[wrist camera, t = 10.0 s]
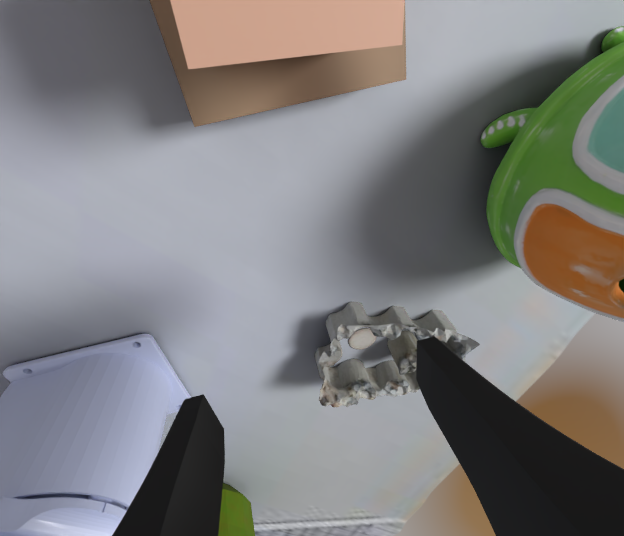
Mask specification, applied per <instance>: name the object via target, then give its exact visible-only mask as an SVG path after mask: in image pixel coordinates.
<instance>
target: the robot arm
mask: <svg viewBox="0 0 624 536" xmlns="http://www.w3.org/2000/svg"><path fill="white" fill-rule="evenodd" d="M135 342H139V343H135ZM3 375H4V377H5V378H6V379H7V380H8V381H10V382H11V383H10V384H9V386H8V387H7V388H6V390H5V391H4V392H3V394H2V395H1V397H0V536H218V533H219V522H220V511H221V500H222V488H223V477H224V464H225V451H224V428H223V427H222V425H221V423H220V422H219V420H218V418H217V416H216V415H215V413H214V411H213V410H212V408H211V406H210V405H209V403H208V401H207V399H206V398H205V396H204V395H200V396H196V397H192V398H191V397H190V395H189V393H188V392H187V390H186V389H185V387H184V385H183V384H182V382H181V381H180V379H179V378H178V376H177V374H176V373H175V371H174V370H173V368H172V366H171V365H170V363H169V362H168V360H167V358H166V357H165V355H164V354H163V352H162V351H161V349H160V347H159V346H158V344H157V343H156V341H155V339H154V338H153V337H152V336H151V335H149V334H140V335H136V336H131V337H127V338H123V339H119V340H115V341H111V342H107V343H102V344H98V345H94V346H90V347H86V348H82V349H78V350H73V351H69V352H65V353H61V354H57V355H53V356H49V357H44V358H40V359H36V360H32V361H28V362H24V363H20V364H15V365H11V366H8V367H7V368H6V369H5V370H4V372H3ZM416 380H417V382H418V385H419V387H420V389H421V392H422V394H423V396H424V399H425V401H426V403H427V405H428V408H429V410H430V411H431V413H432V415H433V417H434V419H435V420H436V422H437V424H438V426H439V427H440V429H441V431H442V433H443V434H444V436H445V438H446V440H447V441H448V443H449V445H450V447H451V448H452V450H453V452H454V454H455V455H456V457H457V459H458V461H459V462H460V464H461V466H462V468H463V469H464V471H465V473H466V475H467V476H468V478H469V480H470V482H471V484H472V486H473V488H474V490H475V492H476V494H477V496H478V498H479V500H480V502H481V504H482V506H483V509H484V511H485V513H486V515H487V517H488V519H489V521H490V523H491V526H492V528H493V530H494V532H495V534H496V536H624V469H622V468H620V467H618V466H617V465H615V464H613V463H611V462H609V461H608V460H606V459H604V458H602V457H601V456H599V455H597V454H595V453H594V452H592V451H590V450H589V449H587V448H585V447H584V446H582V445H580V444H578V443H577V442H576V441H574V440H572V439H571V438H569V437H567V436H566V435H564V434H562V433H561V432H560V431H558V430H556V429H555V428H553V427H552V426H550V425H548V424H547V423H546V422H544V421H543V420H541V419H540V418H538V417H537V416H535V415H534V414H532V413H531V412H529V411H528V410H527V409H525V408H524V407H522V406H521V405H520V404H518V403H517V402H515V401H514V400H513V399H511V398H510V397H509V396H507V395H506V394H505V393H503V392H502V391H501V390H499V389H498V388H497V387H495V386H494V385H493V384H492V383H490V382H489V381H488V380H486V379H485V378H484V377H483V376H481V375H480V374H479V373H478V372H476V371H475V370H474V369H473V368H471V367H470V366H469V365H468V364H467V363H465V362H464V361H463V360H462V359H461V358H459V357H458V356H457V355H456V354H455V353H454V352H452V351H451V350H450V349H449V348H448V347H447V346H446V345H444V344H443V343H442V342H441V341H440V340H439V339H438V338H436V337H435V336H434V337H430V338H426V339H422V340H418V341H417V362H416ZM178 411H179V412H178ZM174 412H178V414H177V416H176V418H175V420H174V422H173V424H172V426H171V428H170V430H169V432H168V434H167V436H166V439H165V441H164V443H163V445H162V447H161V449H160V451H159V447H160V442H161V438H162V433H163V429H164V425H165V420H166V416H167V414H170V413H174ZM158 451H159V452H158Z"/></svg>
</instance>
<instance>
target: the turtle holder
mask: <svg viewBox="0 0 624 536" xmlns="http://www.w3.org/2000/svg"><path fill="white" fill-rule="evenodd" d="M601 49H602V51H603V52H604V53H602V54H601V55H599V56H597V57H595V58H594V59H592V60H591V61H590V62H588V63H587V64H585V65H584V66H582V67H581V68H580V69H579V70H577V71H576V72H575V73H574V74H572V75H571V76H570V77H569V78H568V79H566V80H565V81H564V82H563V83H562V84H561V85H560V86H559V87H558V88H557V89H556V90H555V91H554V92H553V93H552V94H551V95H550V96H549V97H548V98H547V99H546V100H545V101H544V102H543V103H542V104H541V105H540V106H539V107H538V108H525V109H521V110H516V111H513V112H510V113H507V114H504V115H502V116H501V117H499V118H497V119H496V120H495V121H493V122H492V123H491V124H490V125H488V126H487V128H486V129H485V130H484V131H483V133H482V135H481V143H482V145H483V147H485V148H494V147H499V146H502V145H505V144H508V143H511V142H512V144H511V145H510V147H509V149H508V151H507V153H506V154H505V156H504V158H503V160H502V161H501V163H500V165H499V167H498V169H497V170H496V172H495V175H494V177H493V179H492V182H491V185H490V189H489V193H488V198H487V208H486V215H487V220H488V224H489V228H490V232H491V235H492V238H493V240H494V242H495V245H496V246H497V248H498V250H499V251H500V253H501V254H502V255H503V256H504V257H505V258H506V259H507V260H508V261H509V262H510V263H512V264H514V265H515V266H517V267H520V268H522V270H523V271H524V273H525V274H526V275H527V276H528V277H529V278H530V279H531V280H532V281H533V282H534V283H535V284H537V285H538V286H540V287H542V288H543V289H545V290H547V291H549V292H550V293H552V294H554V295H556V296H558V297H560V298H562V299H565V300H567V301H569V302H571V303H573V304H575V305H577V306H580V307H582V308H584V309H587V310H589V311H592V312H594V313H597V314H600V315H603V316H606V317H609V318H612V319H615V320H619V321H622V322H624V26H621V27H617V28H615V29H613V30H612V31H610V32H609V33H608V34H607V35H606V37H605V38H604V39H603V42H602V48H601Z"/></svg>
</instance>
